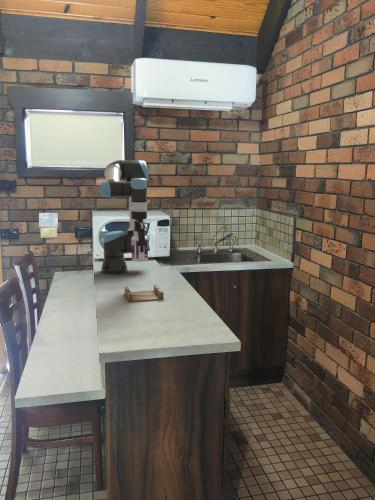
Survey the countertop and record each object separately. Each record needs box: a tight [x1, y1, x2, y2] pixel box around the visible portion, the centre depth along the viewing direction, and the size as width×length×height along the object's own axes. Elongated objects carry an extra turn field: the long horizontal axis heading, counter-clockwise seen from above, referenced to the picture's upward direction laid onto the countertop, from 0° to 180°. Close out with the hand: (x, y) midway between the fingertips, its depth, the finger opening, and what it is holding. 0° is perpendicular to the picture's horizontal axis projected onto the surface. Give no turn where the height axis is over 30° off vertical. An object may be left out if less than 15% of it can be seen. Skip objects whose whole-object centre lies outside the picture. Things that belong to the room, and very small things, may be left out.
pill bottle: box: [131, 231, 149, 262], centre depth 209 cm, size 8×8×14 cm
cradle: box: [124, 284, 165, 303], centre depth 202 cm, size 14×16×4 cm
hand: (139, 256), depth 210 cm, fingers closed on pill bottle, 8 cm apart
